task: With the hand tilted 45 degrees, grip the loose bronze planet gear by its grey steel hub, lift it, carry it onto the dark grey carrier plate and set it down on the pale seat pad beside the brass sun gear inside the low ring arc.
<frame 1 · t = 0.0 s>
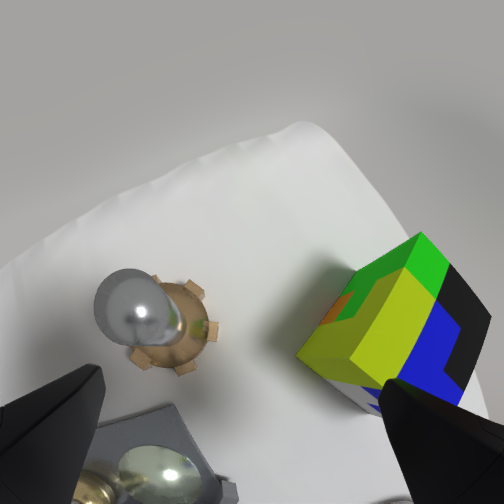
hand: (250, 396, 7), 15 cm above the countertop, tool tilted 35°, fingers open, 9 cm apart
puzzle toy: (364, 344, 23), on the countertop
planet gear: (170, 327, 22), on the countertop
carrier plate: (133, 481, 16), on the countertop
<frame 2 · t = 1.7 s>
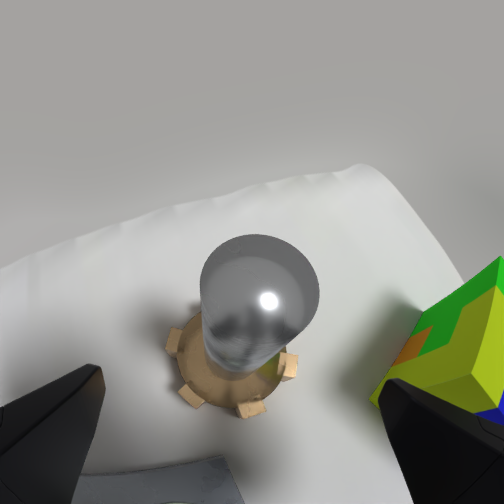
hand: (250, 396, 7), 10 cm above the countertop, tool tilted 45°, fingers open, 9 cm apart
puzzle toy: (431, 386, 18), on the countertop
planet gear: (229, 361, 17), on the countertop
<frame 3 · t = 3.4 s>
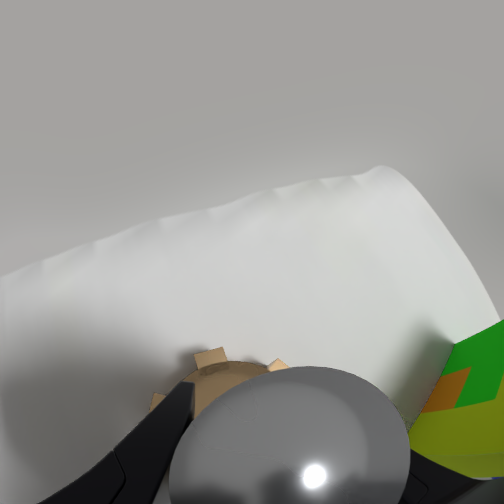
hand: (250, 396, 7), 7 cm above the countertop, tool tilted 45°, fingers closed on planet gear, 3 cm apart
puzzle toy: (459, 427, 13), on the countertop
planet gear: (231, 424, 12), on the countertop, touching gripper
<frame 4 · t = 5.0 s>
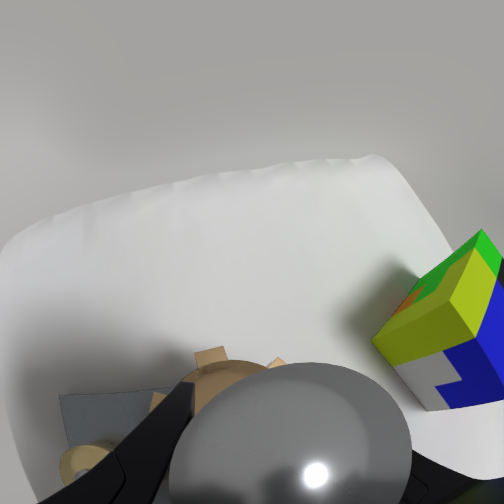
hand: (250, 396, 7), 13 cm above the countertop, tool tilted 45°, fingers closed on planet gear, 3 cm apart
puzzle toy: (425, 343, 22), on the countertop
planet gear: (231, 423, 12), point 6 cm above the countertop, touching gripper
carrier plate: (169, 464, 15), on the countertop
when the fingers open (9 cm above the countertop, at t = 6.5 s): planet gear drops 1 cm, resting on carrier plate.
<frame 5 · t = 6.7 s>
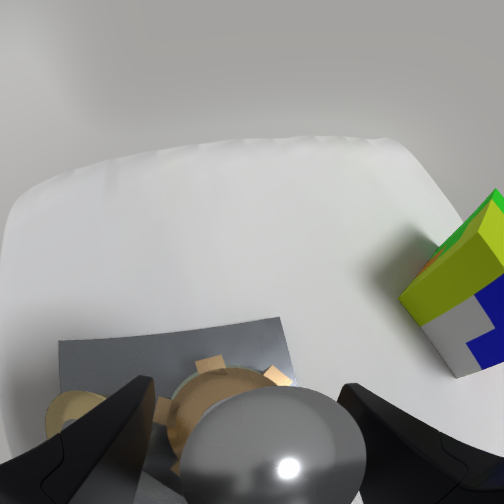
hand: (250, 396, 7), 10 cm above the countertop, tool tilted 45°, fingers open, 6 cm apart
puzzle toy: (449, 308, 21), on the countertop
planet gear: (229, 424, 13), point 1 cm above the countertop, touching carrier plate
carrier plate: (180, 427, 14), on the countertop
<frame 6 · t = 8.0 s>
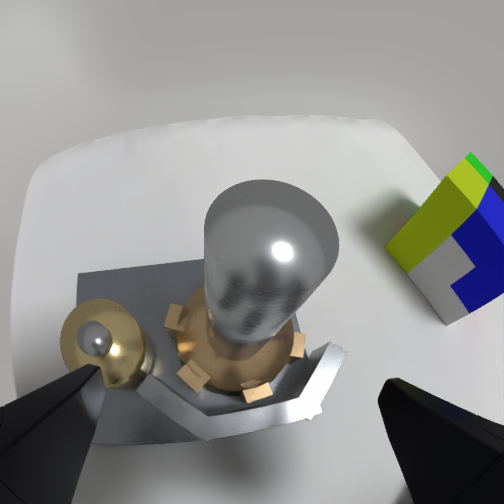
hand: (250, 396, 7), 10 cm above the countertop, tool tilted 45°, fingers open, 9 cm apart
puzzle toy: (435, 262, 24), on the countertop
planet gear: (232, 341, 17), point 1 cm above the countertop, touching carrier plate
carrier plate: (186, 349, 17), on the countertop
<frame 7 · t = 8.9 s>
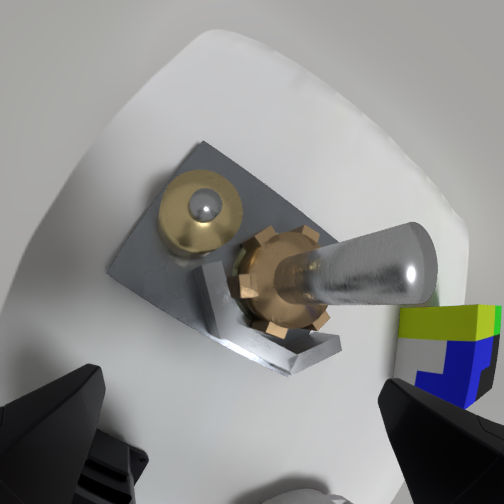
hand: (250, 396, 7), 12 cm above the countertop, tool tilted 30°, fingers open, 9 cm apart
puzzle toy: (417, 348, 28), on the countertop
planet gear: (277, 282, 20), point 1 cm above the countertop, touching carrier plate
carrier plate: (239, 260, 21), on the countertop
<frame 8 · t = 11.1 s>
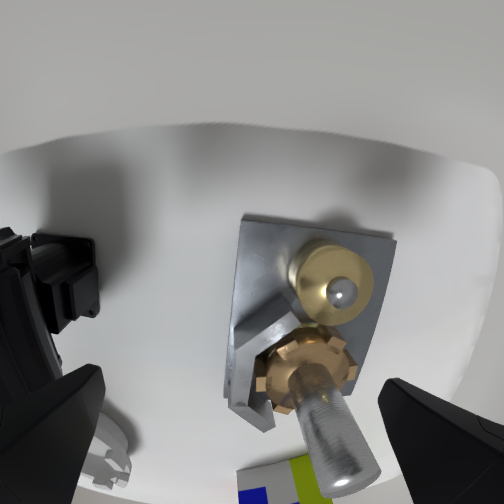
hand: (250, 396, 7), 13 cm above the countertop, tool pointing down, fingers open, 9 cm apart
puzzle toy: (284, 476, 28), on the countertop
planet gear: (301, 361, 21), point 1 cm above the countertop, touching carrier plate
carrier plate: (306, 322, 21), on the countertop
flag stand: (86, 427, 23), on the countertop
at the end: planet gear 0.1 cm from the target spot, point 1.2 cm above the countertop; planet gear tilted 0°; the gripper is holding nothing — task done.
